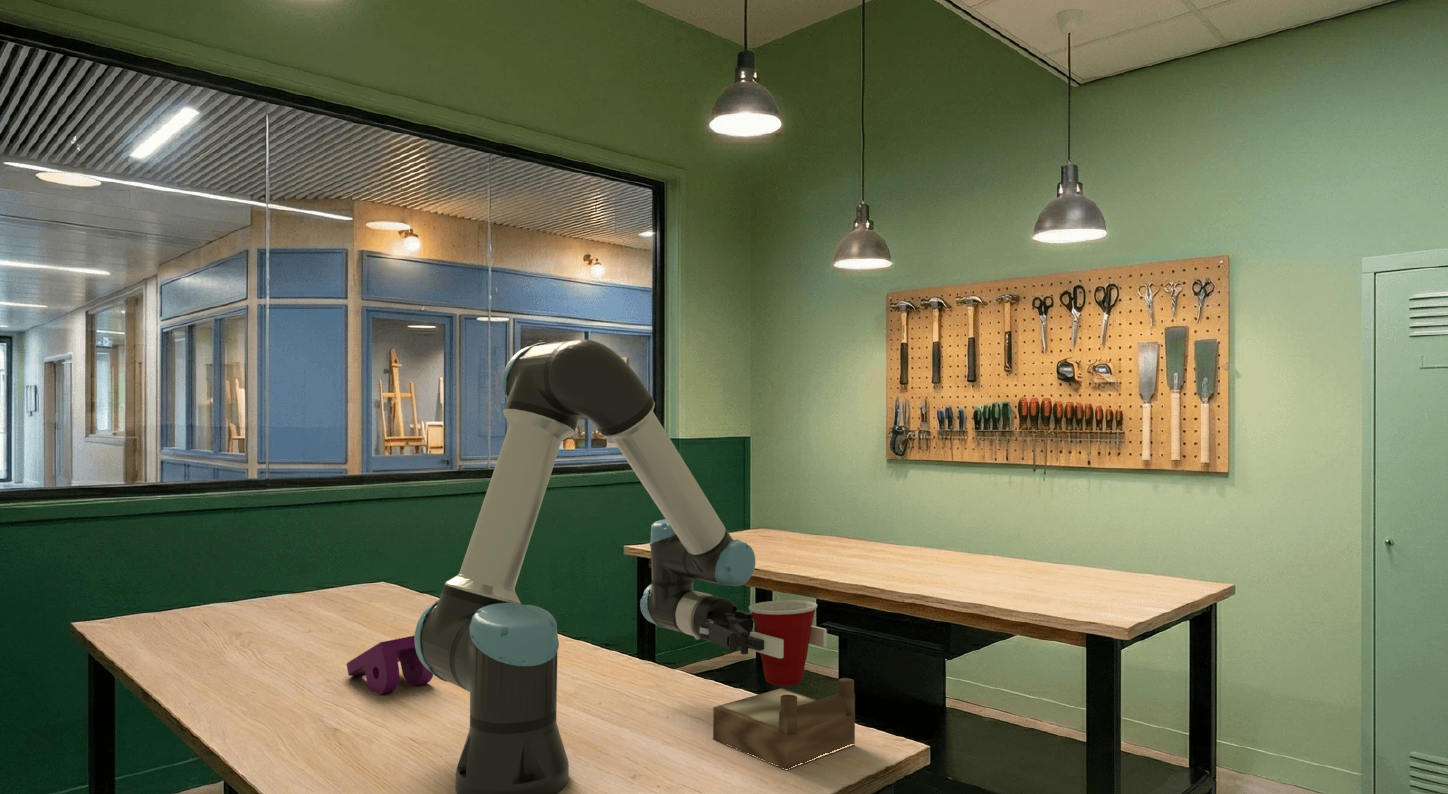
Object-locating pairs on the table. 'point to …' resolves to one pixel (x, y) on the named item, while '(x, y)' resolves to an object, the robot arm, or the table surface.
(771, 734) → the walnut stand
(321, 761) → the table surface
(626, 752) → the table surface
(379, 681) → the mounting bracket
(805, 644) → the plastic cup
